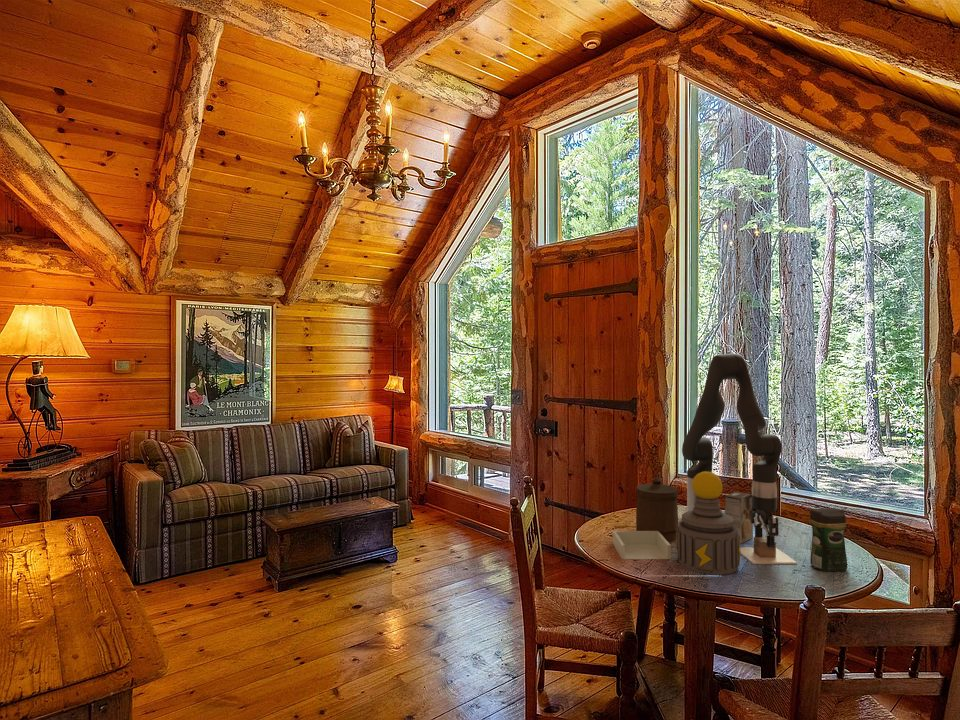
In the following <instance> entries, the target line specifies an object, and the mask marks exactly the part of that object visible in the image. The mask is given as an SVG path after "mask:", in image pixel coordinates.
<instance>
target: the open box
mask: <svg viewBox="0 0 960 720" xmlns="http://www.w3.org/2000/svg"><path fill="white" fill-rule="evenodd" d="M612 545H613V546H614V549H615V551H616V552H617V553H618V555H619V557H620V558H621V560H671V559H672V545H671V543H670V542H667V540H666V539H665V538H664V537H663V536H662V535H661V534H660V532H659V531H636V530H613V531H612Z"/></svg>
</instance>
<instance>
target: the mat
mask: <svg viewBox="0 0 960 720" xmlns="http://www.w3.org/2000/svg"><path fill="white" fill-rule="evenodd" d="M740 551H741V554H740V556H741V555H742V557H744V558H745V560H747V561H748V562H749V563H751V564H752V565H798V562H797V561H795V560H794V559H793V558H792V557H790V556H789V555H787V554H786V553H785V552H783V551H782V550H780V549H778V548H777V547H776V557H759V556H758V555H757V554H755V553H754V547H740Z"/></svg>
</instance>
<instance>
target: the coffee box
mask: <svg viewBox="0 0 960 720" xmlns="http://www.w3.org/2000/svg"><path fill="white" fill-rule="evenodd" d="M751 512H752V493H746V492H745V493H744V492H741V491H740V492H739V491H734V492H731V493H729V494H726V495H724V514H727V515H729V516H730V517H732V518H733V519H734V526H735V527H736V528H737V531H738V534H739V536H740V544H744V543H745V542H748V541H750V539H754V528H753V527H754V524H752V523H751Z"/></svg>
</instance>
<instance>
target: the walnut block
mask: <svg viewBox="0 0 960 720" xmlns="http://www.w3.org/2000/svg"><path fill="white" fill-rule="evenodd" d="M776 544H777V542H776V541H775V546H774V548H769V547H767V536H766V537H765V536H764V537H763V536H762V537H755V536H753V548H754V553H755V554H757V555H758V556H759V557H776V548H777V545H776Z"/></svg>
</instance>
